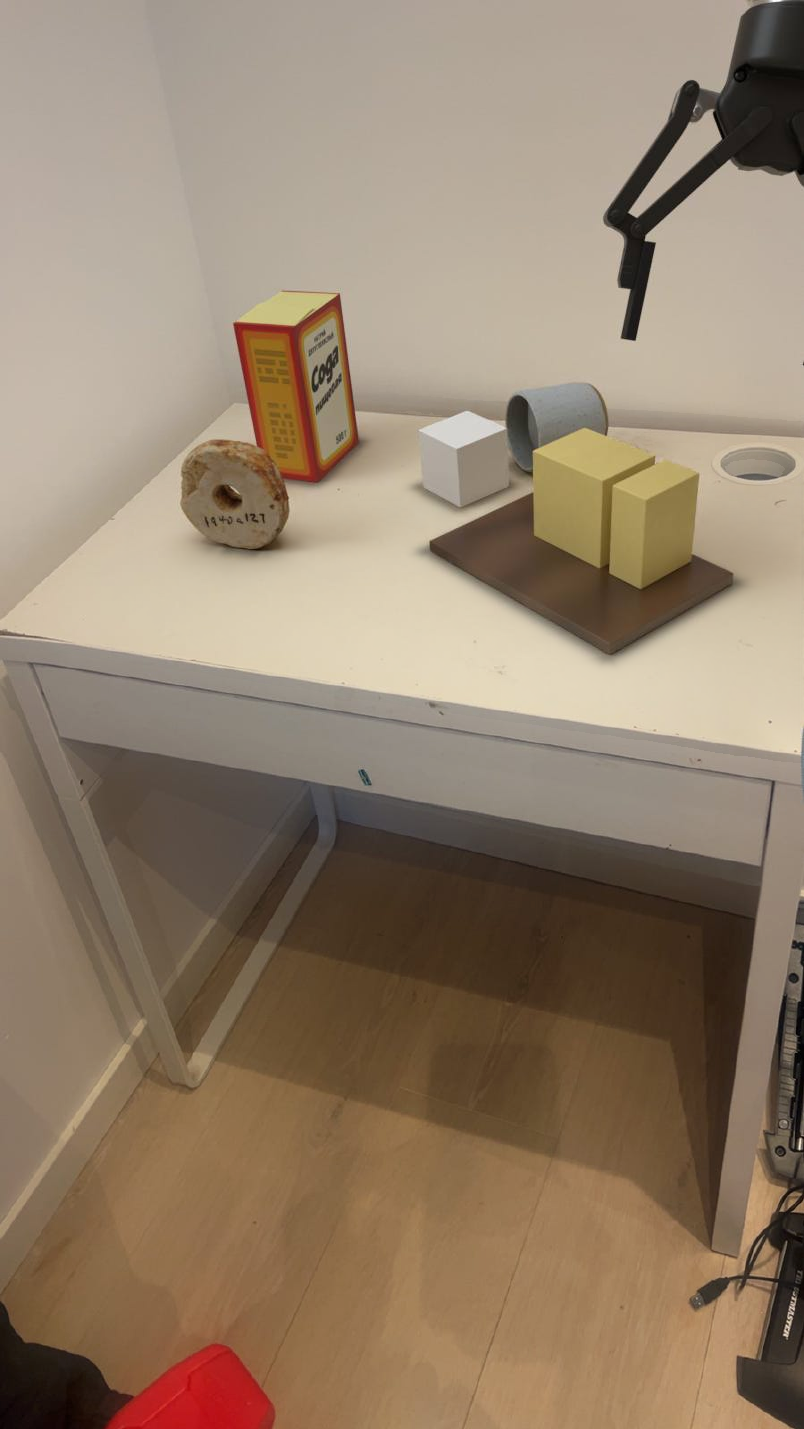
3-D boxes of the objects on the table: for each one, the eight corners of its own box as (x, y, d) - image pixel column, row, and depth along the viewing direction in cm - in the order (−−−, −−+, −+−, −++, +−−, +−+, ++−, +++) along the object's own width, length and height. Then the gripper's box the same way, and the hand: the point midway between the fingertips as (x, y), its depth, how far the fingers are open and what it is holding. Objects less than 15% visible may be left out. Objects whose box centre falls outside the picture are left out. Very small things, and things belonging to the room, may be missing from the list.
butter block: (650, 542, 88) (655, 455, 83) (599, 569, 86) (602, 481, 81) (583, 511, 93) (584, 427, 88) (533, 535, 91) (532, 450, 86)
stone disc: (303, 536, 97) (286, 436, 90) (286, 557, 94) (267, 454, 88) (207, 525, 100) (183, 428, 94) (187, 545, 98) (162, 445, 91)
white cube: (470, 467, 105) (467, 410, 101) (509, 486, 101) (507, 428, 97) (422, 487, 102) (417, 429, 98) (460, 508, 98) (456, 448, 94)
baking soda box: (306, 436, 114) (281, 286, 104) (358, 442, 111) (339, 289, 101) (262, 475, 107) (232, 319, 97) (317, 482, 105) (292, 323, 95)
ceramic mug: (613, 462, 102) (615, 386, 97) (539, 484, 100) (538, 407, 95) (559, 427, 110) (559, 355, 105) (490, 445, 108) (486, 373, 103)
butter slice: (691, 561, 85) (700, 472, 80) (640, 590, 83) (646, 499, 78) (659, 546, 88) (665, 458, 83) (608, 573, 85) (612, 485, 80)
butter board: (732, 583, 84) (734, 572, 83) (610, 655, 78) (610, 644, 78) (545, 495, 98) (545, 486, 98) (429, 550, 93) (429, 540, 92)
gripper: (965, 53, 71) (872, 375, 79) (605, 2, 71) (547, 327, 79) (1019, 25, 64) (910, 381, 72) (619, -32, 64) (554, 329, 72)
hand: (720, 354), depth 76 cm, fingers open, 13 cm apart
